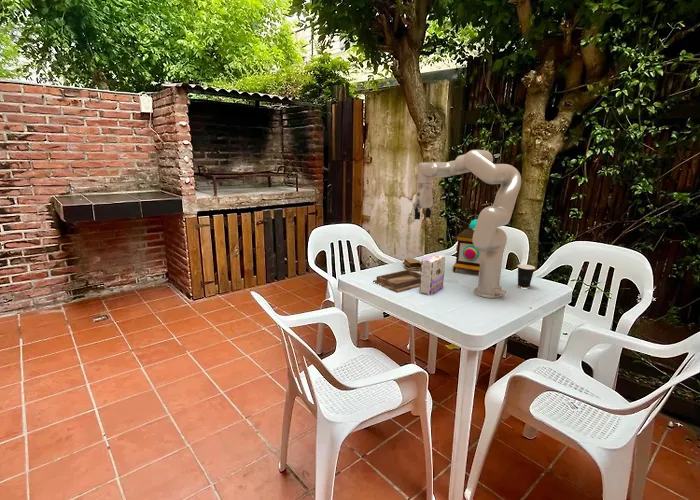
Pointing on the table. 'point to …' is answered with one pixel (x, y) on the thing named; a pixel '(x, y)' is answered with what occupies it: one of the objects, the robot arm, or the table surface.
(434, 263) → the candy box
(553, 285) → the table surface
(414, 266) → the toy sandwich meal
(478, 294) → the robot arm
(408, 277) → the tray
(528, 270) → the dixie cup
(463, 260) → the decorative lantern
